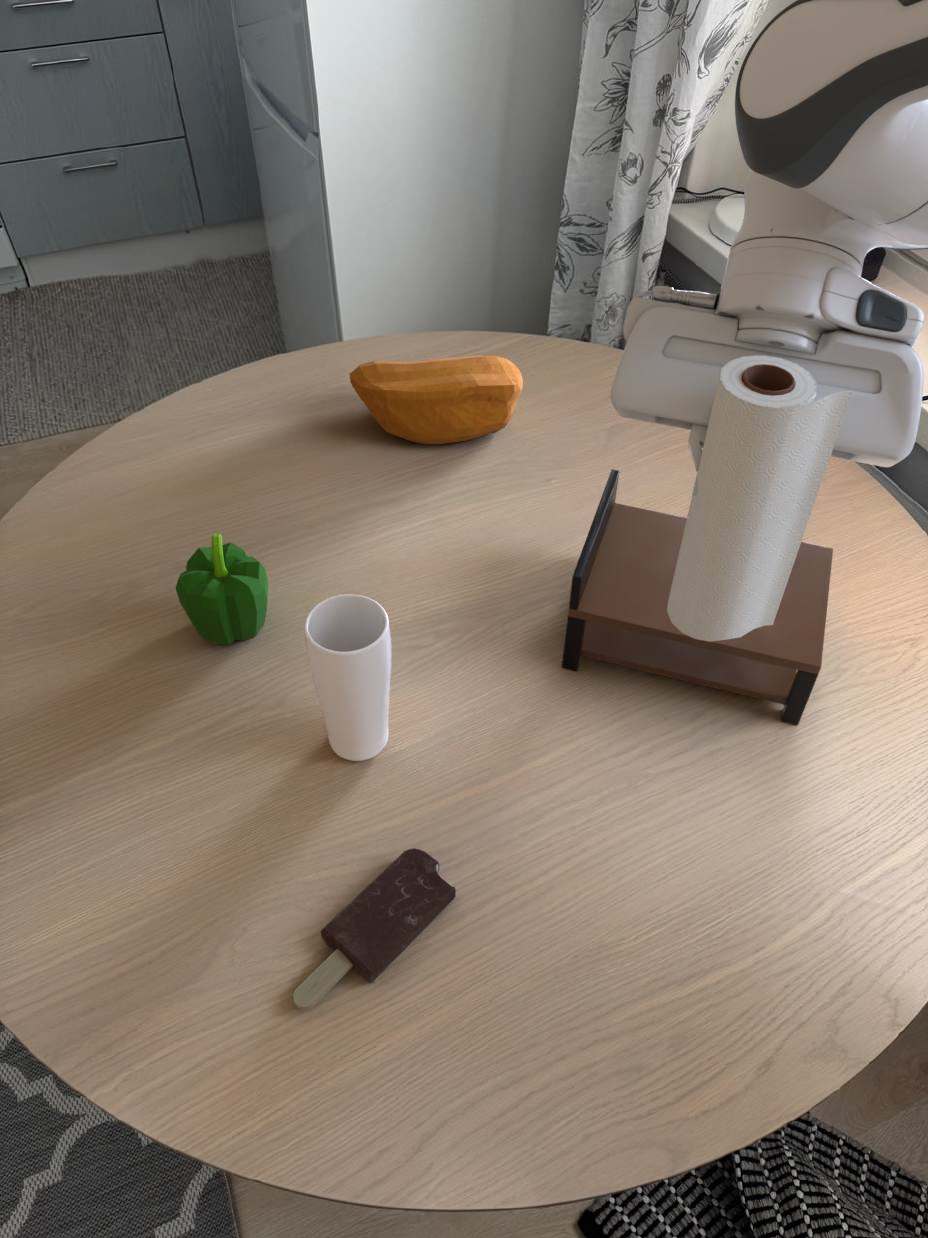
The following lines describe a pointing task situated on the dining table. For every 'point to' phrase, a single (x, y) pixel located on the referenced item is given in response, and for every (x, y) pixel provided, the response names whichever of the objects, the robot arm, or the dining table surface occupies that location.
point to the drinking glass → (351, 672)
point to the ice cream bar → (379, 923)
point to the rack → (647, 639)
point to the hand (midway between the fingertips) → (735, 504)
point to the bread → (440, 396)
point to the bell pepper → (224, 592)
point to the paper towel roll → (752, 496)
